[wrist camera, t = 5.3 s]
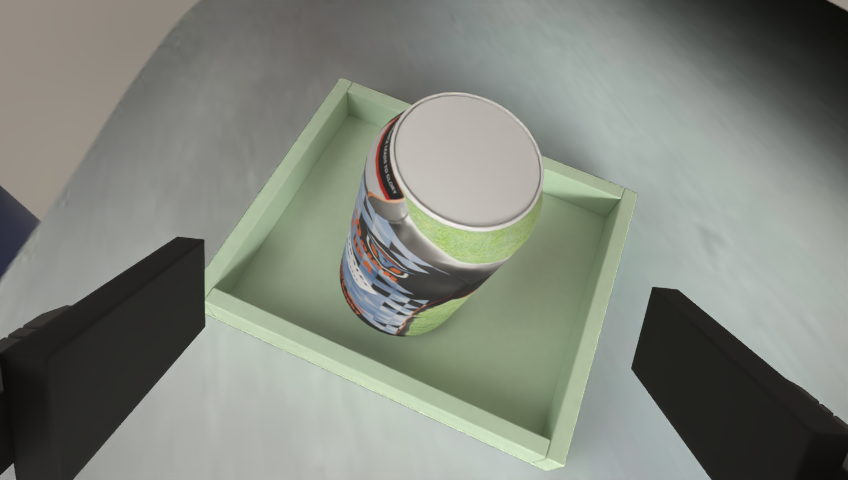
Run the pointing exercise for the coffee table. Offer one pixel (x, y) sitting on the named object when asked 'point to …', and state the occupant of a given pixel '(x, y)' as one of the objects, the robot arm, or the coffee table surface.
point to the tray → (466, 328)
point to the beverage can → (438, 210)
